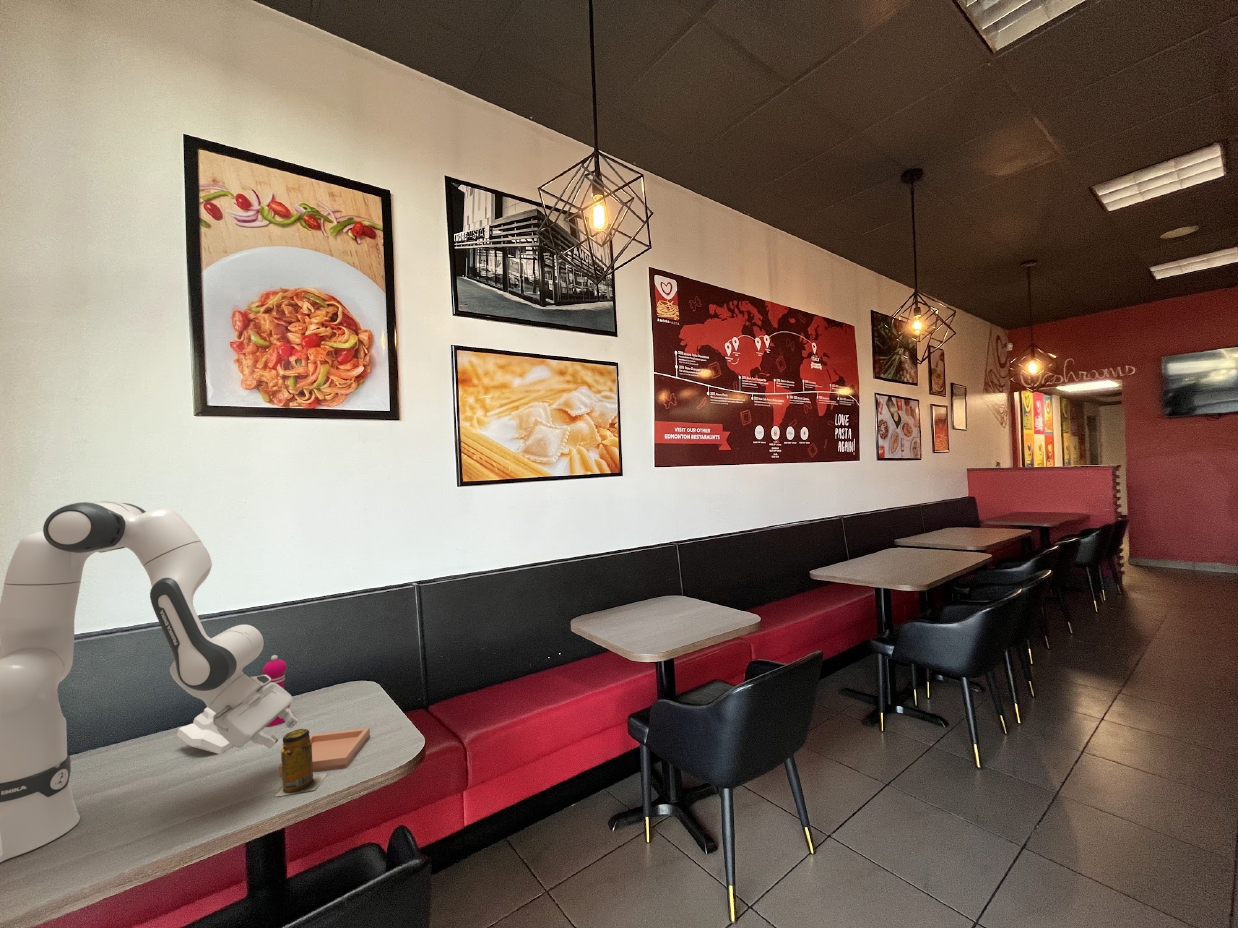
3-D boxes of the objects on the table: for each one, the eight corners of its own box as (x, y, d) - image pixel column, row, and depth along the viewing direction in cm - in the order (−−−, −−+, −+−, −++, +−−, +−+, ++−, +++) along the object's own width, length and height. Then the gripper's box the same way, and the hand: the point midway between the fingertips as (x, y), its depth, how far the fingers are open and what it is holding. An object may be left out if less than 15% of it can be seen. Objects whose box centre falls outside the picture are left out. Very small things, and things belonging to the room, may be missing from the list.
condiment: (289, 779, 120) (287, 728, 121) (328, 773, 122) (325, 723, 122) (274, 797, 113) (271, 743, 114) (314, 791, 115) (312, 737, 115)
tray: (279, 776, 122) (279, 765, 122) (310, 743, 137) (310, 734, 137) (346, 767, 124) (345, 757, 124) (369, 736, 139) (369, 727, 139)
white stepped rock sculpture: (227, 736, 149) (241, 685, 152) (246, 753, 140) (261, 699, 143) (173, 744, 139) (190, 690, 142) (191, 763, 130) (208, 705, 133)
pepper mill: (296, 715, 156) (293, 650, 157) (278, 726, 149) (275, 658, 150) (275, 716, 157) (272, 651, 158) (256, 727, 150) (253, 659, 151)
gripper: (219, 706, 108) (271, 745, 109) (270, 671, 128) (313, 705, 130) (197, 730, 107) (250, 769, 109) (252, 692, 128) (296, 725, 129)
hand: (285, 734), depth 119 cm, fingers open, 8 cm apart
